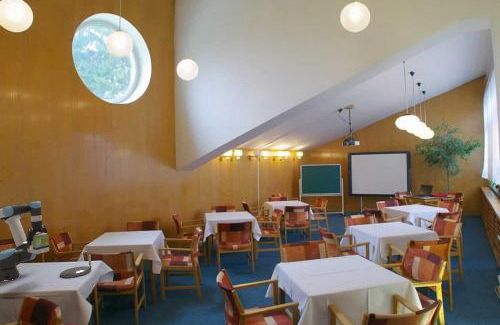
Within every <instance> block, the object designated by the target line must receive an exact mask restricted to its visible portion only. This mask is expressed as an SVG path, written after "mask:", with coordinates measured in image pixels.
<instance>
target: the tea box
mask: <svg viewBox="0 0 500 325" xmlns="http://www.w3.org/2000/svg"><path fill="white" fill-rule="evenodd" d="M48 234H49V233H40V232H36V234H35V235H33V240H32V241H33V250H30V246H29V242H28V241H27V247H28V252H30V253H34V254H36V255H39V254H43V253H47V252H50V240H49V235H48Z"/></svg>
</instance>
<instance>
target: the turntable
mask: <svg viewBox="0 0 500 325" xmlns="http://www.w3.org/2000/svg"><path fill="white" fill-rule="evenodd" d="M91 255H92V254H88V266H86V265H83V266H75V267H70V268H67V269H64V270H62V271H60V274H59V276H60V277H61V278H63V279H71V278H78V277H81V276H84V275H87V274H89V273H90V272H92V258H91V257H92V256H91Z"/></svg>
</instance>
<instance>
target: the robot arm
mask: <svg viewBox="0 0 500 325" xmlns="http://www.w3.org/2000/svg"><path fill="white" fill-rule="evenodd" d="M41 203H42V202H41V200H40V201H37V200H36V201H31V202H30V203H29V202H28V203H25V204H18V205H17V204H16V205H15V204H12V205H8V206H0V221H4V223H5V224H8V228H9V230H10V232H11V235H12V237H13V238H12V239H13V241H14V244H15V246H16V247H15V248H8V249H7V248H6V249H4V250H1V251H0V281H4V280H11V281H13V280H12V279H14V280H16V279H15V278H17V279H18V277H19V276H20V277H21V275H20V272H19V269H18V267H17V264H20V263H25V262H28V261H29V262H30V261H31V260H34V259H35V258H36V256H37V254H34V253H30V252H28V247H27V241H28V242H29V246H30V250H33V241H32V240H33V235H35V234H36V233H37V232H40V233H48V230H47V228H46V225H45V224H43V220H42V219H43V217H42V216H43V215H42V204H41ZM23 214H25V215H26V214H30V221H31V222H30V225H31V228H28V231H27V234H26V233H25V230H24V228H23V226H22V222H21V221H20V220H21V218H22V216H23ZM48 236H49V233H48ZM20 277H19V278H20Z"/></svg>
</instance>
